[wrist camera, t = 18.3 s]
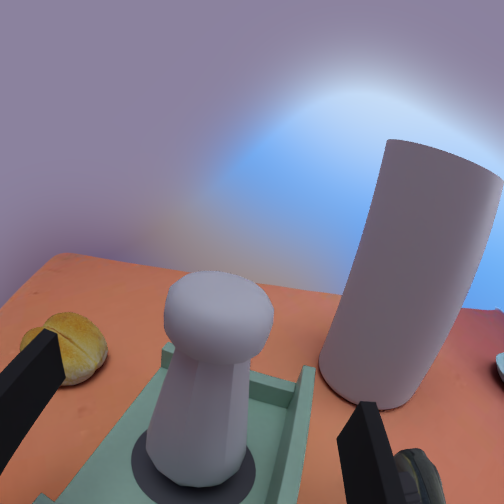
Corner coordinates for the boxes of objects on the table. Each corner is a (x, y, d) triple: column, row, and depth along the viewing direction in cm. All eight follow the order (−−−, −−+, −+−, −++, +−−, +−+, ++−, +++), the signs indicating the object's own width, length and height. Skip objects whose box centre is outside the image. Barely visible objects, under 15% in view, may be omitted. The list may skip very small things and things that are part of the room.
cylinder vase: (424, 414, 27) (527, 192, 18) (321, 408, 27) (419, 138, 19) (396, 351, 38) (461, 174, 30) (312, 337, 39) (371, 140, 30)
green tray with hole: (56, 530, 10) (16, 490, 7) (165, 382, 26) (169, 321, 24) (241, 608, 8) (272, 606, 6) (290, 423, 25) (316, 367, 22)
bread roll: (10, 360, 22) (0, 327, 20) (67, 323, 30) (64, 293, 28) (64, 406, 20) (55, 373, 18) (122, 355, 28) (121, 323, 27)
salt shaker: (189, 516, 12) (218, 355, 8) (129, 451, 15) (118, 267, 11) (256, 467, 17) (324, 300, 12) (197, 417, 20) (225, 248, 16)
